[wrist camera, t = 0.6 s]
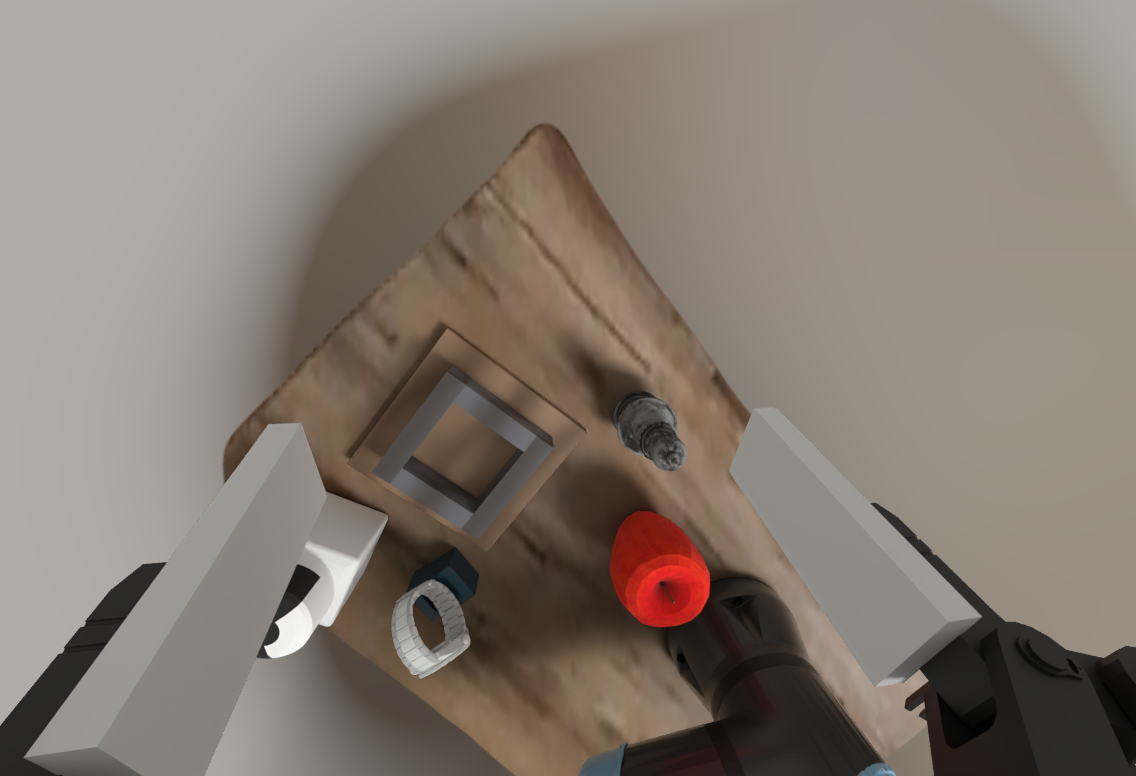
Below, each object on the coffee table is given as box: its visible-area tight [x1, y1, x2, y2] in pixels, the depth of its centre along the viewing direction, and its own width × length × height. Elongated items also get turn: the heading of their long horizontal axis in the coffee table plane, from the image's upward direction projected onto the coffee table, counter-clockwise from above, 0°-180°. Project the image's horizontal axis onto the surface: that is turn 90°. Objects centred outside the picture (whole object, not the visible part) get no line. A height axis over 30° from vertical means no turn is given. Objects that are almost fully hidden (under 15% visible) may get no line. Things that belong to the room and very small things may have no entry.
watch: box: [391, 547, 479, 679], centre depth 40 cm, size 6×8×11 cm
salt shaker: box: [614, 392, 687, 471], centre depth 36 cm, size 6×6×12 cm
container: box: [257, 492, 388, 658], centre depth 36 cm, size 8×8×13 cm
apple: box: [610, 511, 710, 627], centre depth 40 cm, size 9×9×11 cm
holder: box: [347, 328, 587, 551], centre depth 40 cm, size 17×17×4 cm
